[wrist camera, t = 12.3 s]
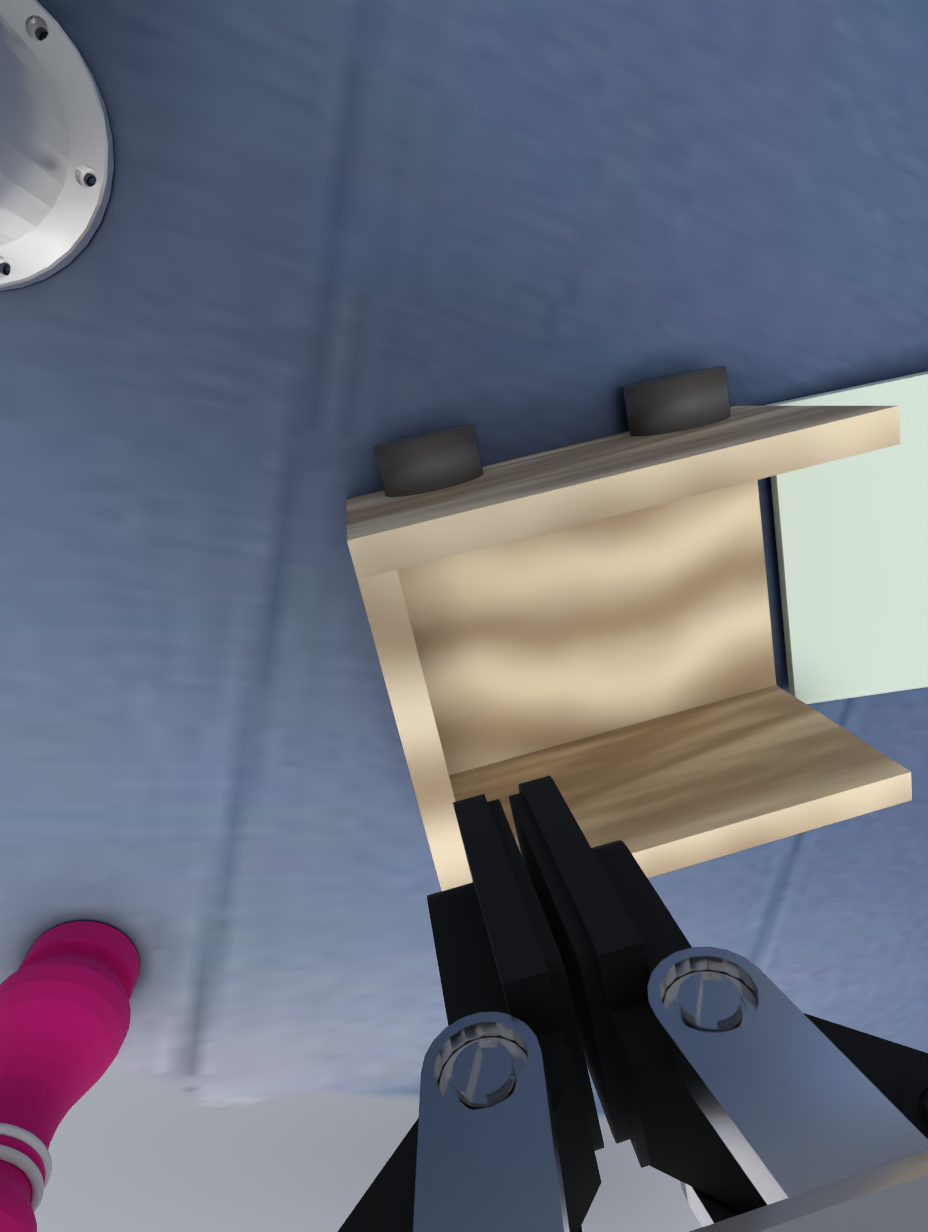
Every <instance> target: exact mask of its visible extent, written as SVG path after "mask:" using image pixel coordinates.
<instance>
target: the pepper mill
mask: <svg viewBox="0 0 928 1232" xmlns="http://www.w3.org/2000/svg"><path fill="white" fill-rule="evenodd" d="M139 968H140V965H139V956H138V954H137V951H136V948H135V947H134V945H133V944H132V942H131V941H130V940H129V938H128V937H126V936H125V935H124V934H123V933H121V932H120V931H119V930H118V929H115V928H113V927H111V926H109V925H106V924H102V923H98V922H94V921H74V922H69V923H65V924H61V925H59V926H56V927H54V928H52V929H50V930H48V931H47V932H45V933H44V934H43V935H41V936H40V937H39V938H38V939H37V940H36V941H35V943H34V944H33V946H32V947H31V949H30V950H29V952H28V954H27V956H26V957H25V959H24V961H23V963H22V964H21V966H20V968H19V970H18V971H16V972H15V973H14V974H12V975H11V976H9V977H8V978H7V979H6V980H5V981H4V982H3V983H2V984H1V985H0V1232H37V1223H36V1219H35V1215H34V1212H35V1210H36V1209H37V1208H38V1206H39V1204H40V1202H41V1199H42V1197H43V1191H44V1188H45V1187H46V1185H47V1183H48V1181H49V1178H50V1175H51V1170H52V1162H51V1156H50V1154H49V1151H48V1148H49V1144H50V1141H51V1140H52V1137H53V1135H54V1133H55V1131H56V1129H57V1127H58V1125H59V1123H60V1122H61V1120H62V1119H63V1117H64V1116H65V1115H66V1113H67V1112H68V1110H69V1109H70V1108H71V1107H72V1106H73V1105H74V1104H75V1103H76V1102H77V1101H78V1100H79V1099H80V1098H81V1097H82V1096H83V1095H84V1094H85V1093H86V1092H87V1091H88V1090H89V1089H90V1088H91V1087H92V1086H93V1085H94V1084H95V1083H96V1082H97V1081H98V1080H99V1079H100V1077H101V1076H102V1075H103V1074H104V1072H105V1071H106V1070H107V1068H108V1067H109V1066H110V1064H111V1063H112V1062H113V1060H114V1059H115V1057H116V1056H117V1054H118V1052H119V1049H120V1047H121V1045H122V1043H123V1041H124V1039H125V1037H126V1034H127V1031H128V1028H129V1024H130V1012H131V1010H130V1004H129V999H130V997H131V994H132V991H133V988H134V986H135V983H136V980H137V977H138V974H139Z"/></svg>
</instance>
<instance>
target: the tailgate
mask: <svg viewBox="0 0 928 1232" xmlns="http://www.w3.org/2000/svg"><path fill="white" fill-rule="evenodd" d="M764 406H899V417H900V444H899V445H895V446H891V447H887V448H883V449H879V450H875V451H871V452H867V453H863V454H859V455H855V456H851V457H847V458H843V459H839V460H835V461H831V462H827V463H823V464H819V465H815V466H811V467H807V468H803V469H799V470H795V471H791V472H787V473H783V474H779V475H775V476H771V487H772V499H773V510H774V522H775V533H776V545H777V556H778V568H779V579H780V591H781V602H782V614H783V625H784V637H785V648H786V660H787V671H788V683H789V693H790V694H791V695H793V696H794V697H796V698H797V699H799V700H800V701H802V702H804V703H805V704H810V703H817V702H824V701H831V700H838V699H845V698H852V697H859V696H866V695H873V694H880V693H887V692H894V691H901V690H908V689H915V688H922V687H928V371H926V372H921V373H917V374H912V375H907V376H902V377H897V378H893V379H888V380H883V381H878V382H873V383H868V384H864V385H859V386H854V387H849V388H844V389H840V390H835V391H830V392H825V393H820V394H816V395H811V396H806V397H801V398H796V399H791V400H787V401H782V402H777V403H772V404H767V405H764Z"/></svg>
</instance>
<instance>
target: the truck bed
mask: <svg viewBox="0 0 928 1232" xmlns="http://www.w3.org/2000/svg"><path fill="white" fill-rule="evenodd" d="M623 390H624V397H625V404H626V411H627V418H628V425H629V432H624V433H620V434H616V435H612V436H608V437H604V438H599V439H595V440H591V441H587V442H583V443H578V444H574V445H570V446H566V447H562V448H558V449H553V450H549V451H545V452H541V453H537V454H533V455H528V456H524V457H520V458H516V459H512V460H507V461H503V462H499V463H495V464H491V465H487V466H482V463H481V459H480V454H479V449H478V444H477V439H476V434H475V430H474V425H473V424H467V425H460V426H454V427H449V428H444V429H439V430H434V431H429V432H425V433H420V434H416V435H412V436H408V437H404V438H400V439H396V440H393V441H389V442H386V443H382V444H379V445H377V446H375V447H374V451H375V455H376V459H377V463H378V467H379V471H380V475H381V479H382V483H383V487H384V490H382V491H378V492H374V493H370V494H365V495H361V496H357V497H353V498H349V499H346V519H347V543H348V546H349V550H350V554H351V558H352V561H353V565H354V569H355V572H356V576H357V580H358V583H359V587H360V591H361V594H362V598H363V602H364V606H365V609H366V613H367V617H368V620H369V624H370V628H371V631H372V635H373V639H374V642H375V646H376V650H377V654H378V657H379V661H380V665H381V668H382V672H383V676H384V679H385V683H386V687H387V690H388V694H389V698H390V701H391V705H392V709H393V713H394V716H395V720H396V724H397V727H398V731H399V735H400V738H401V742H402V746H403V749H404V753H405V757H406V761H407V764H408V768H409V772H410V775H411V779H412V783H413V786H414V790H415V794H416V797H417V801H418V805H419V809H420V812H421V816H422V820H423V823H424V827H425V831H426V834H427V838H428V842H429V845H430V849H431V853H432V857H433V860H434V864H435V868H436V871H437V875H438V879H439V882H440V886H441V890H442V891H445V890H448V889H452V888H455V887H459V886H462V885H465V884H469V883H472V882H473V881H472V877H471V873H470V869H469V865H468V861H467V857H466V853H465V849H464V845H463V841H462V837H461V833H460V829H459V826H458V822H457V818H456V814H455V810H454V806H453V802H456V801H460V800H463V799H467V798H470V797H474V796H478V795H481V794H485V797H486V800H487V802H489V801H493V800H496V799H499V800H500V802H501V805H502V807H503V810H504V812H505V815H506V817H507V820H508V822H509V825H510V828H511V830H512V833H513V835H514V838H515V840H516V843H517V845H518V848H519V850H520V846H519V842H518V838H517V833H516V829H515V824H514V820H513V816H512V811H511V807H510V802H509V796H511V795H514V794H518V793H519V784H520V783H524V782H528V781H531V780H535V779H538V778H542V777H545V776H549V775H550V776H551V777H552V778H553V780H554V782H555V784H556V786H557V787H558V789H559V791H560V793H561V795H562V796H563V798H564V800H565V802H566V804H567V805H568V807H569V809H570V811H571V812H572V814H573V816H574V818H575V820H576V821H577V823H578V825H579V827H580V829H581V830H582V832H583V834H584V836H585V837H586V839H587V841H588V843H589V845H590V846H591V848H593V847H596V846H600V845H603V844H607V843H610V842H614V841H617V840H621V841H623V842H624V843H625V845H626V846H627V847H628V849H629V850H630V852H631V853H632V855H633V857H634V858H635V860H636V861H637V863H638V864H639V866H640V867H641V869H642V871H643V872H644V874H645V875H646V877H647V878H650V877H653V876H657V875H660V874H663V873H667V872H670V871H673V870H677V869H680V868H684V867H687V866H690V865H694V864H697V863H700V862H704V861H707V860H711V859H714V858H717V857H721V856H724V855H727V854H731V853H734V852H738V851H741V850H744V849H748V848H751V847H754V846H758V845H761V844H765V843H768V842H771V841H775V840H778V839H781V838H785V837H788V836H792V835H795V834H798V833H802V832H805V831H809V830H812V829H815V828H819V827H822V826H825V825H829V824H832V823H836V822H839V821H842V820H846V819H849V818H852V817H856V816H859V815H863V814H866V813H869V812H873V811H876V810H879V809H883V808H886V807H890V806H893V805H896V804H900V803H903V802H906V801H910V800H912V787H911V772H910V771H909V770H907V769H906V768H904V767H903V766H901V765H900V764H898V763H896V762H895V761H893V760H892V759H890V758H889V757H887V756H886V755H884V754H883V753H881V752H879V751H878V750H876V749H875V748H873V747H872V746H870V745H869V744H867V743H865V742H864V741H862V740H861V739H859V738H858V737H856V736H855V735H853V734H852V733H850V732H848V731H847V730H845V729H844V728H842V727H841V726H839V725H838V724H836V723H834V722H833V721H831V720H830V719H828V718H827V717H825V716H824V715H822V714H821V713H819V712H817V711H816V710H814V709H813V708H811V707H810V706H808V705H807V704H805V703H804V702H802V701H800V700H799V699H797V698H796V697H794V696H793V695H791V694H790V693H788V692H786V691H785V690H783V689H782V688H780V687H779V686H777V685H776V676H775V665H774V654H773V643H772V633H771V622H770V611H769V600H768V589H767V579H766V568H765V557H764V546H763V535H762V525H761V514H760V503H759V492H758V481H757V480H759V479H763V478H767V477H771V476H775V475H779V474H783V473H787V472H791V471H795V470H799V469H803V468H807V467H811V466H815V465H819V464H823V463H827V462H831V461H835V460H839V459H843V458H847V457H851V456H855V455H859V454H863V453H867V452H871V451H875V450H879V449H883V448H887V447H891V446H895V445H899V444H900V417H899V406H733V407H730V404H729V394H728V384H727V374H726V366H719V367H712V368H706V369H700V370H694V371H689V372H684V373H679V374H674V375H669V376H665V377H660V378H656V379H652V380H647V381H643V382H639V383H636V384H632V385H629V386H626V387H624V388H623ZM520 853H521V851H520Z"/></svg>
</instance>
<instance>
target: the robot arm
mask: <svg viewBox="0 0 928 1232" xmlns="http://www.w3.org/2000/svg"><path fill="white" fill-rule="evenodd" d="M43 32H47V33H48V35H47V37H46V38H45V39H43V40H42V41H40V39H39V36H40V34H41V33H43ZM113 170H114V160H113V140H112V133H111V129H110V124H109V120H108V116H107V111H106V107H105V104H104V101H103V99H102V96H101V94H100V92H99V89H98V87H97V84H96V82H95V79H94V77H93V74H92V73H91V71H90V69H89V68H88V66H87V64H86V63H85V61H84V59H83V58H82V56H81V54H80V53H79V51H78V49H77V48H76V46H75V45H74V43H73V42H72V41H71V40H70V38H69V37H68V36H67V34H66V33H65V32H64V31H63V29H62V28H61V26H60V25H59V24H58V22H57V21H56V20H55V19H54V18H53V17H52V16H51V15H50V14H49V13H48V12H47V11H46V10H45V9H44V8H43V7H42V6H41V5H40V4H39V3H38V2H37V1H36V0H0V291H3V290H10V289H16V288H23V287H25V286H28V285H30V284H33V283H36V282H38V281H41V280H44V279H46V278H48V277H50V276H51V275H53V274H54V273H56V272H57V271H59V270H60V269H62V268H64V267H65V266H67V265H68V264H69V263H70V262H71V261H72V260H73V259H74V258H75V257H76V256H77V255H78V254H79V253H80V252H81V251H82V250H83V249H84V248H85V247H86V246H87V245H88V243H89V241H90V240H91V238H92V236H93V235H94V233H95V231H96V230H97V228H98V226H99V225H100V223H101V221H102V218H103V215H104V212H105V209H106V206H107V203H108V200H109V198H110V193H111V185H112V178H113ZM90 176H95V177H96V180H97V181H96V183H95V185H94V186H92V187H89V186H88V185H87V179H88V177H90ZM7 264H9V265H10V268H11V271H10V273H9V275H5V274H4V272H3V268H4V266H5V265H7ZM509 802H510V807H511V811H512V816H513V820H514V824H515V829H516V833H517V838H518V842H519V846H520V850H519V848H518V845H517V843H516V840H515V838H514V835H513V833H512V830H511V828H510V825H509V822H508V820H507V817H506V815H505V812H504V810H503V807H502V805H501V802H500V800H499V799H496V800H493V801H489V802H487V800H486V797H485V794H481V795H478V796H474V797H470V798H467V799H463V800H460V801H456V802H453V806H454V810H455V814H456V818H457V822H458V826H459V829H460V833H461V837H462V841H463V845H464V849H465V853H466V857H467V861H468V865H469V869H470V873H471V877H472V881H473V882H472V883H469V884H465V885H462V886H459V887H455V888H452V889H448V890H445V891H441V892H438V893H434V894H431V895H428V896H427V900H428V907H429V913H430V919H431V925H432V930H433V936H434V942H435V948H436V954H437V960H438V966H439V972H440V978H441V984H442V990H443V996H444V1002H445V1008H446V1014H447V1020H448V1025H449V1026H448V1027H446V1028H445V1029H444V1030H443V1031H442V1032H441V1033H440V1034H439V1035H438V1036H437V1037H436V1038H435V1039H434V1041H433V1042H432V1044H431V1046H430V1048H429V1049H428V1051H427V1053H426V1055H425V1057H424V1062H423V1067H422V1071H421V1083H420V1103H419V1118H418V1119H417V1121H416V1122H415V1124H414V1125H413V1126H412V1128H411V1129H410V1131H409V1132H408V1134H407V1135H406V1136H405V1138H404V1139H403V1141H402V1142H401V1143H400V1145H399V1146H398V1148H397V1149H396V1150H395V1152H394V1153H393V1155H392V1156H391V1158H390V1159H389V1160H388V1162H387V1163H386V1165H385V1166H384V1167H383V1169H382V1170H381V1172H380V1173H379V1174H378V1176H377V1177H376V1179H375V1180H374V1182H373V1183H372V1184H371V1186H370V1187H369V1189H368V1190H367V1191H366V1193H365V1194H364V1196H363V1197H362V1198H361V1200H360V1201H359V1203H358V1204H357V1205H356V1207H355V1208H354V1210H353V1211H352V1212H351V1214H350V1215H349V1217H348V1218H347V1219H346V1221H345V1223H344V1224H343V1225H342V1226H341V1228H340V1229H339V1231H338V1232H585V1231H584V1227H583V1220H584V1218H585V1216H586V1214H587V1212H588V1210H589V1208H590V1205H591V1203H592V1201H593V1199H594V1197H595V1195H596V1193H597V1190H598V1188H599V1186H600V1184H601V1179H600V1174H599V1170H598V1165H597V1161H596V1156H595V1152H594V1151H595V1150H599V1149H601V1148H604V1143H603V1139H602V1134H601V1129H600V1125H599V1120H598V1115H597V1111H596V1106H595V1101H594V1097H593V1092H592V1087H591V1083H590V1078H589V1074H588V1069H589V1072H590V1075H591V1078H592V1080H593V1083H594V1086H595V1089H596V1091H597V1094H598V1097H599V1099H600V1102H601V1105H602V1108H603V1110H604V1113H605V1116H606V1118H607V1121H608V1124H609V1126H610V1129H611V1132H612V1134H613V1137H614V1139H615V1141H616V1143H620V1142H623V1141H626V1140H628V1139H630V1140H631V1142H632V1145H633V1148H634V1150H635V1153H636V1155H637V1158H638V1161H639V1163H640V1166H641V1167H645V1166H648V1165H650V1166H652V1167H654V1168H656V1169H658V1170H660V1171H662V1172H664V1173H666V1174H668V1175H670V1176H672V1177H674V1178H676V1179H678V1180H680V1182H681V1187H682V1190H683V1192H684V1195H685V1197H686V1199H687V1202H688V1204H689V1206H690V1208H691V1210H692V1211H693V1213H694V1215H695V1216H696V1218H697V1220H698V1221H699V1223H700V1225H701V1226H702V1228H699V1229H696V1230H693V1231H690V1232H928V1053H925V1052H922V1051H919V1050H916V1049H913V1048H910V1047H907V1046H903V1045H900V1044H897V1043H894V1042H891V1041H888V1040H885V1039H882V1038H879V1037H876V1036H873V1035H869V1034H866V1033H863V1032H860V1031H857V1030H854V1029H851V1028H848V1027H845V1026H842V1025H839V1024H835V1023H832V1022H829V1021H826V1020H823V1019H820V1018H817V1017H814V1016H811V1015H808V1014H805V1013H802V1012H801V1011H800V1010H799V1009H798V1008H797V1007H796V1006H795V1005H794V1004H793V1003H792V1002H791V1001H790V1000H789V999H788V997H787V996H786V995H785V994H784V993H783V992H782V991H781V990H780V989H779V988H778V987H777V986H776V985H775V984H774V983H773V982H772V981H771V980H770V979H769V978H768V977H767V976H766V975H765V974H764V973H763V972H762V971H761V970H760V969H759V968H758V967H756V966H755V965H754V964H752V963H751V962H750V961H749V960H747V959H746V958H745V957H742V956H740V955H738V954H735V953H733V952H731V951H728V950H725V949H719V948H713V947H693V948H692V947H691V945H690V944H689V942H688V941H687V939H686V938H685V936H684V934H683V933H682V931H681V930H680V928H679V927H678V925H677V924H676V922H675V920H674V919H673V917H672V916H671V914H670V913H669V911H668V909H667V908H666V906H665V905H664V903H663V902H662V900H661V899H660V897H659V895H658V894H657V892H656V891H655V889H654V888H653V886H652V885H651V883H650V881H649V880H648V878H647V877H646V875H645V874H644V872H643V871H642V869H641V867H640V866H639V864H638V863H637V861H636V860H635V858H634V857H633V855H632V853H631V852H630V850H629V849H628V847H627V846H626V845H625V843H624V842H623V841H621V840H617V841H614V842H610V843H607V844H603V845H600V846H596V847H593V848H591V846H590V845H589V843H588V841H587V839H586V837H585V836H584V834H583V832H582V830H581V829H580V827H579V825H578V823H577V821H576V820H575V818H574V816H573V814H572V812H571V811H570V809H569V807H568V805H567V804H566V802H565V800H564V798H563V796H562V795H561V793H560V791H559V789H558V787H557V786H556V784H555V782H554V780H553V778H552V777H551V776H550V775H549V776H545V777H542V778H538V779H535V780H531V781H528V782H524V783H520V784H519V793H518V794H514V795H511V796H509ZM520 851H521V853H520ZM587 1067H588V1069H587Z"/></svg>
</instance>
